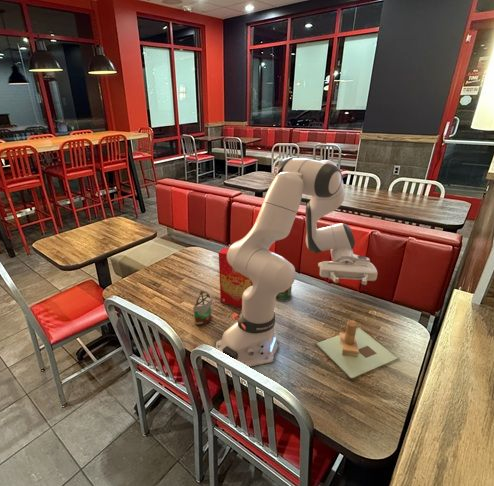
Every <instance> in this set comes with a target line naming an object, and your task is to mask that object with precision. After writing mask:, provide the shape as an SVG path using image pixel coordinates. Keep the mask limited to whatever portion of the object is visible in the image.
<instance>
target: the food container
mask: <svg viewBox="0 0 494 486" xmlns="http://www.w3.org/2000/svg"><path fill="white" fill-rule="evenodd" d="M212 305H213V298H212V296H211V294H210V293H209V292H208V291H206V290H201V289H200V291H199V296H198V298H197V299H196V302H195V305H194V306H193V309H192V311H193V313H194V321H195V326H204V325H206V324H208V323H209V322H210V321H211V318H212V317H211V316H212V315H211V313H212Z"/></svg>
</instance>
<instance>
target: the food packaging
mask: <svg viewBox="0 0 494 486" xmlns="http://www.w3.org/2000/svg"><path fill="white" fill-rule="evenodd" d="M229 248H230V247H222V249H221V250H220V251H219V252H218V271H219V272H218V273H219V293H220V294H219V295H220V303H221V304H224V305H230V306H234V307H238V308H242V295H243V293H244V291H245V290H246V289H247V288H248V287H250V286H253V283H252V281H251V280H250V279H249V278H247V277H245V276H244V275H242V274H240V273H239V272H237V271H236V270H235V269H234V268H233V267H232V266H231V265H230V264H229V263H228V261H227V252H228V250H229Z"/></svg>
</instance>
